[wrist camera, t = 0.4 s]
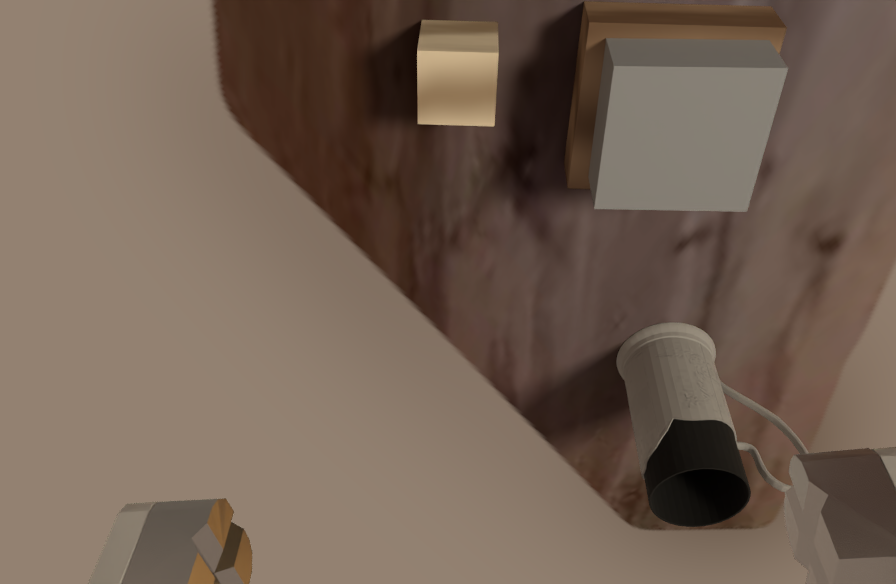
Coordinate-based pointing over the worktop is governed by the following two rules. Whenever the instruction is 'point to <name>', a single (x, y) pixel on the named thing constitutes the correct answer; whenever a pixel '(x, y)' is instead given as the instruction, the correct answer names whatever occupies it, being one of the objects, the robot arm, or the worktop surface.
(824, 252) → the worktop surface
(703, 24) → the walnut base slab
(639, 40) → the slate top slab
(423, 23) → the birch block
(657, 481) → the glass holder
